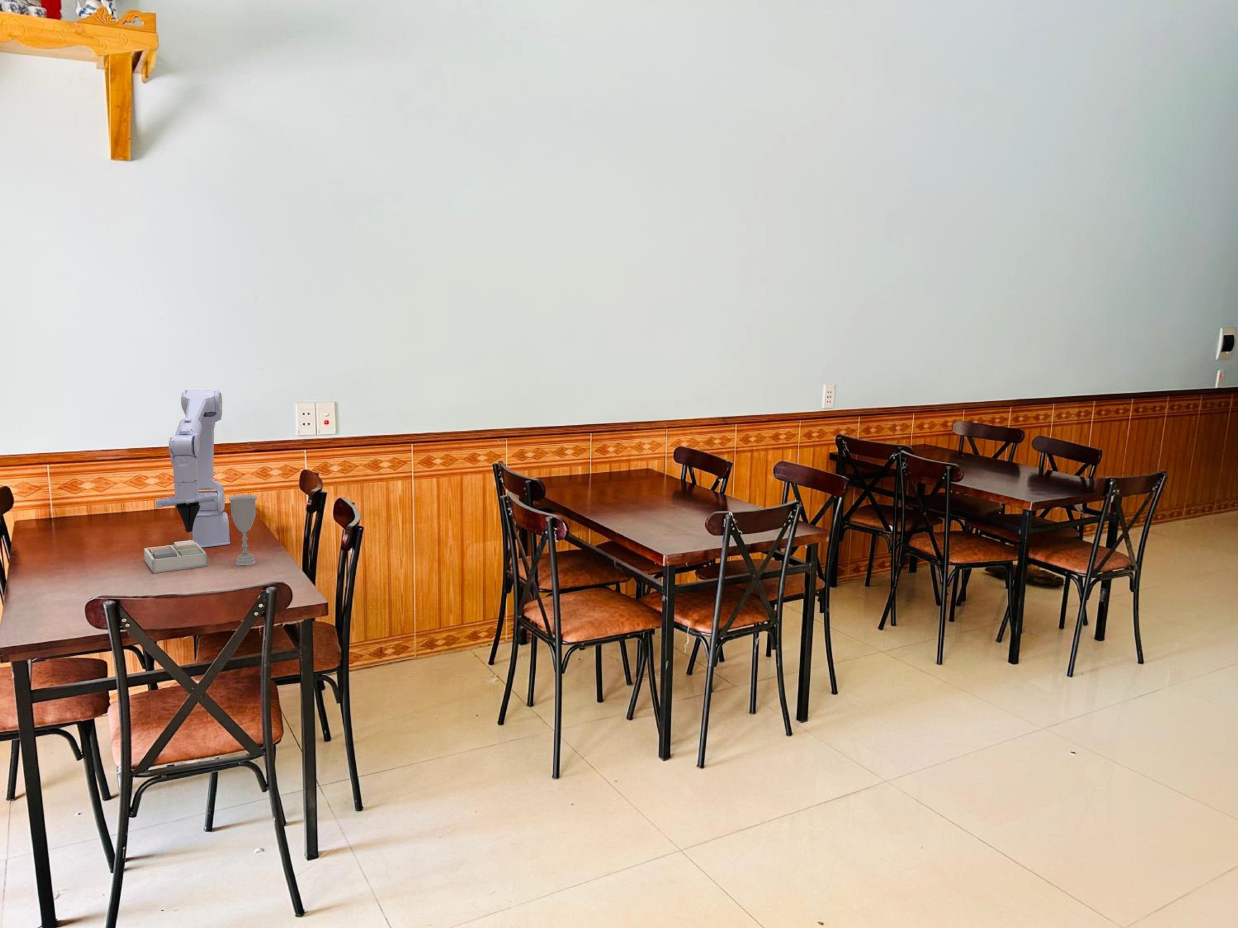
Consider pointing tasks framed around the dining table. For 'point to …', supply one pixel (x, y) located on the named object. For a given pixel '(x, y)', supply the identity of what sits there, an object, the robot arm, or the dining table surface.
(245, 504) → the chalice
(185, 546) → the key ivory
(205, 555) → the keypad
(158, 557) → the key slate
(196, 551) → the key sage
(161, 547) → the key terracotta
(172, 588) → the dining table surface
